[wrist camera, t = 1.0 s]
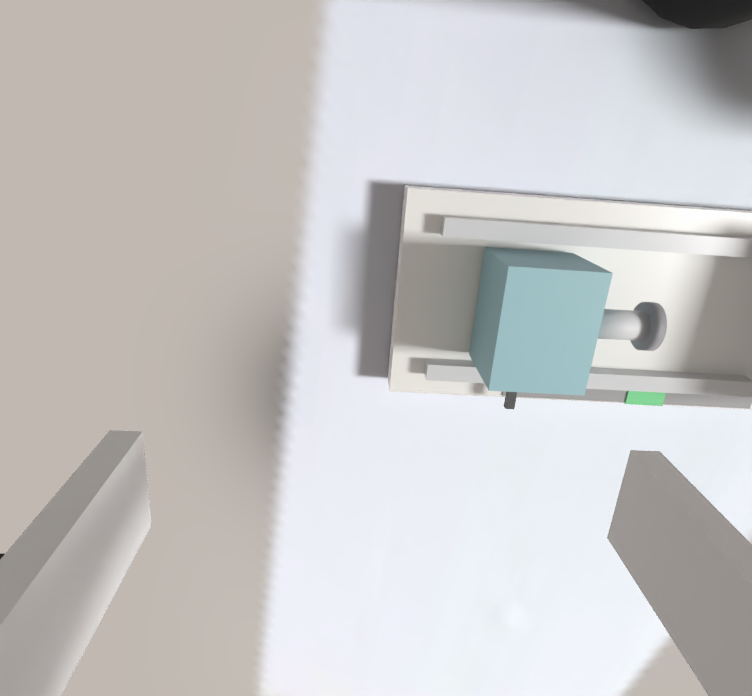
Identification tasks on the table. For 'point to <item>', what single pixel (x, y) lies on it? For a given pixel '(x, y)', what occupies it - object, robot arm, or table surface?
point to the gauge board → (627, 289)
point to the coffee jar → (703, 12)
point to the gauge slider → (549, 322)
